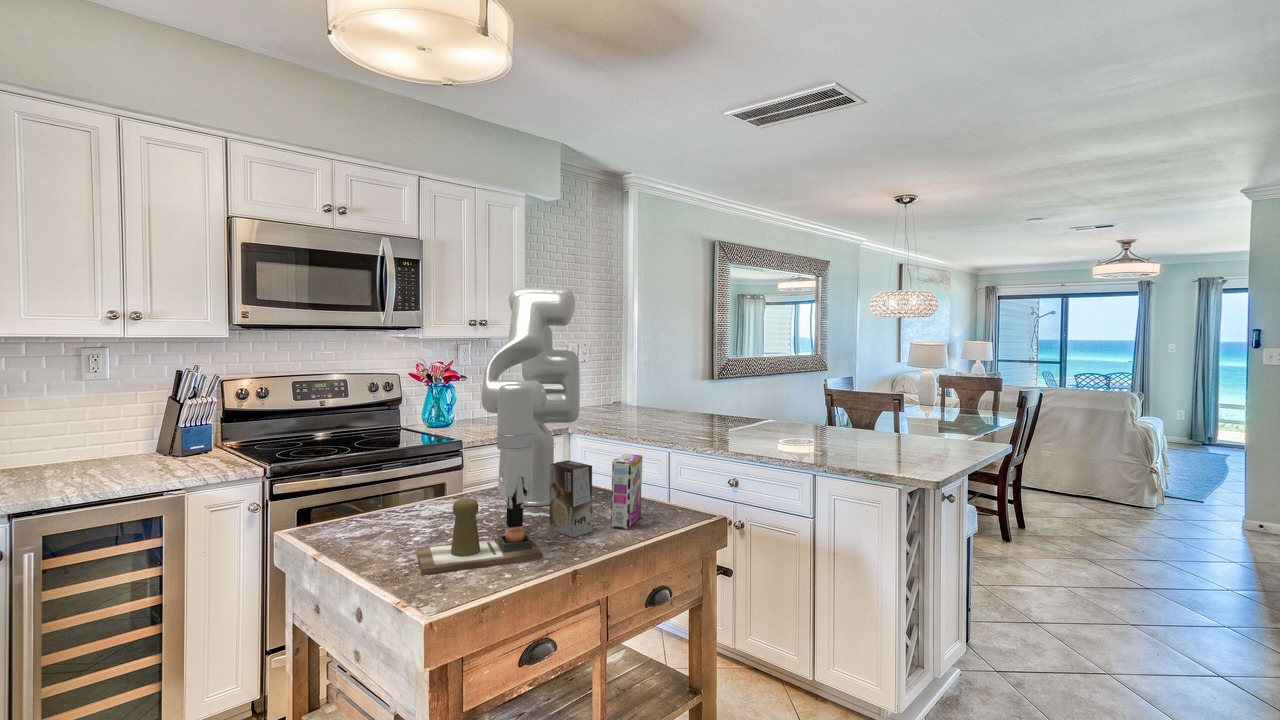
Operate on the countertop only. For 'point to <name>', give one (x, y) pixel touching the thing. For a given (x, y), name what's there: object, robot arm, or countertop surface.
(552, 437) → the robot arm
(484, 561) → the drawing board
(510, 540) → the button
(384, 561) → the countertop surface
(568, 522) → the coffee box
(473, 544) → the olive pawn
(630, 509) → the candy bar box
